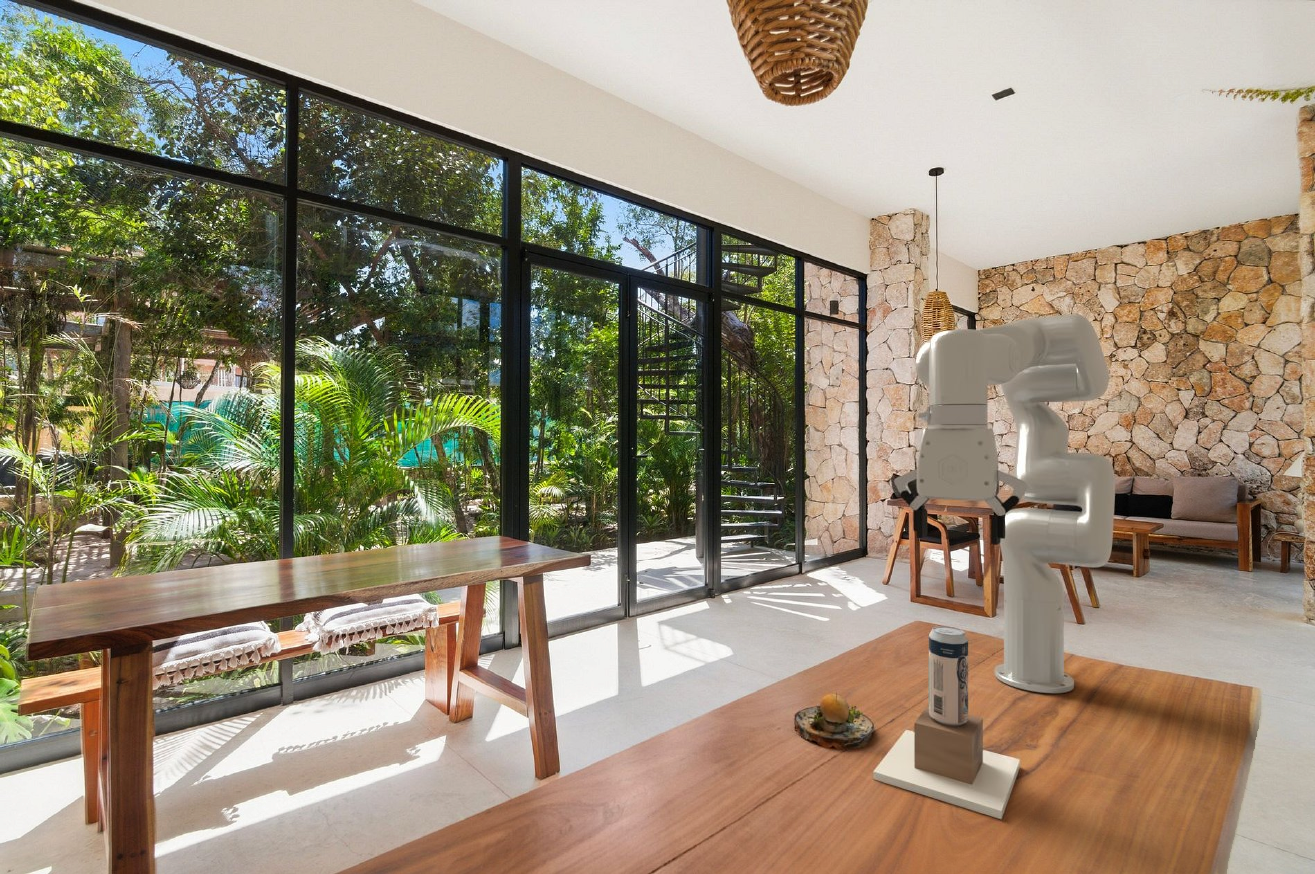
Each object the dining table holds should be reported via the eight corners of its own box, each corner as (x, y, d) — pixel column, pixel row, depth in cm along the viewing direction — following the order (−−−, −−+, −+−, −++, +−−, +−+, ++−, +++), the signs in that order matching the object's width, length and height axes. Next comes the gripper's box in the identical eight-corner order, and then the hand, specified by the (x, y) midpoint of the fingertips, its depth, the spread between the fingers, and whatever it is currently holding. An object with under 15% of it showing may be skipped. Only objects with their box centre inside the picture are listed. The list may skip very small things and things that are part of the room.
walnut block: (928, 747, 91) (928, 704, 91) (982, 762, 87) (982, 717, 87) (914, 767, 86) (914, 722, 86) (972, 784, 81) (972, 737, 81)
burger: (879, 724, 102) (879, 676, 102) (869, 758, 91) (869, 705, 91) (802, 710, 107) (802, 665, 107) (785, 741, 96) (785, 690, 96)
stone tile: (906, 736, 97) (906, 729, 97) (1019, 766, 88) (1020, 759, 88) (873, 779, 85) (873, 771, 85) (1001, 819, 76) (1001, 810, 76)
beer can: (972, 729, 84) (972, 636, 84) (933, 726, 85) (933, 634, 85) (962, 714, 88) (962, 626, 88) (925, 711, 89) (925, 624, 89)
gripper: (887, 419, 93) (887, 537, 93) (1024, 417, 83) (1024, 550, 83) (902, 420, 99) (902, 531, 99) (1031, 418, 89) (1031, 542, 89)
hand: (957, 540), depth 91 cm, fingers open, 9 cm apart
